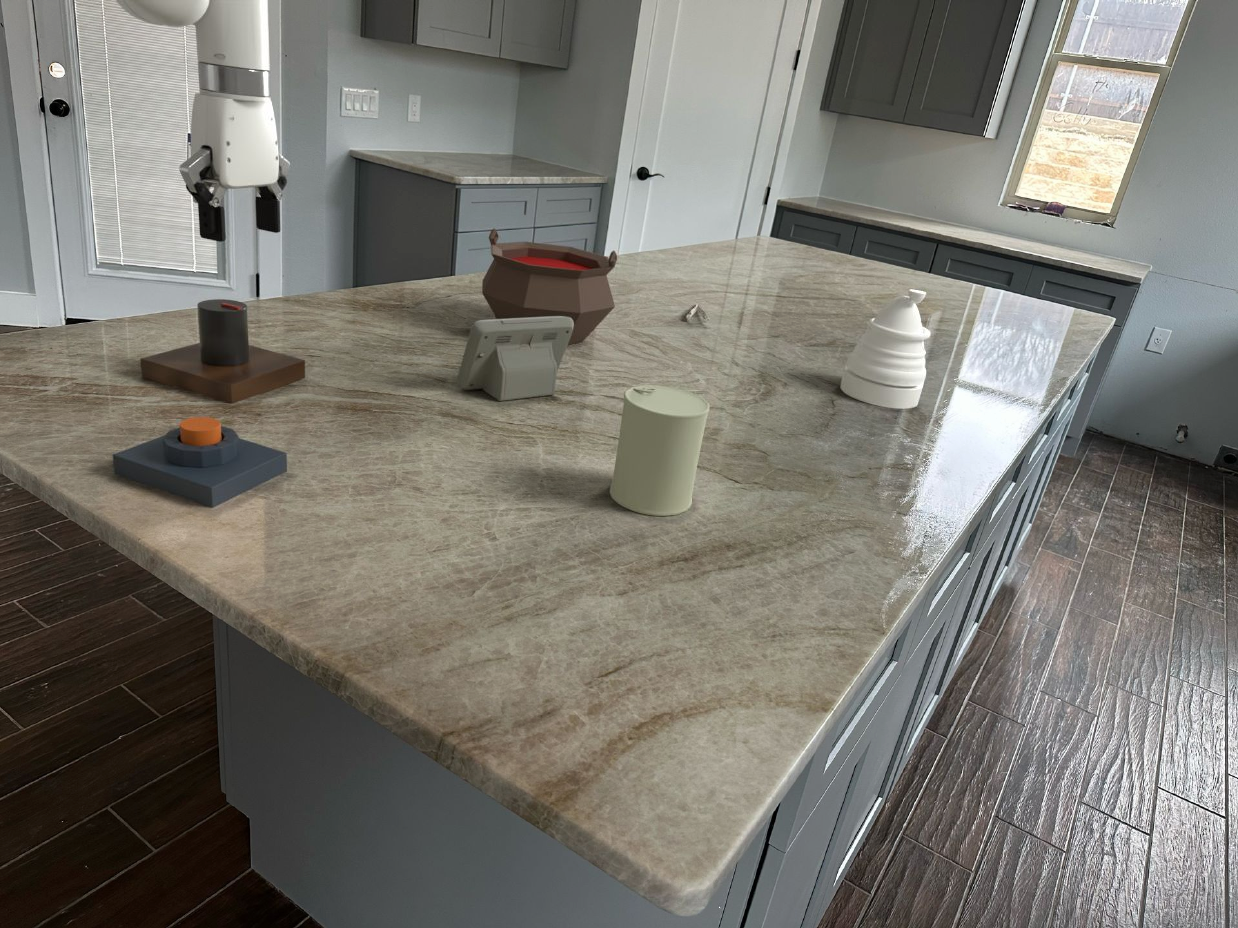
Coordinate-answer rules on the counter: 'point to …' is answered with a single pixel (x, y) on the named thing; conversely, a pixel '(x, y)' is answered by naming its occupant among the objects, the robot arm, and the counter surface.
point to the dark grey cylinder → (223, 332)
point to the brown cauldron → (549, 283)
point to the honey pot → (890, 357)
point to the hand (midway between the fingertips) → (241, 235)
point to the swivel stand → (223, 373)
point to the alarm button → (200, 431)
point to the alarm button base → (201, 466)
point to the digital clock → (515, 356)
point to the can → (658, 449)
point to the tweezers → (700, 313)
